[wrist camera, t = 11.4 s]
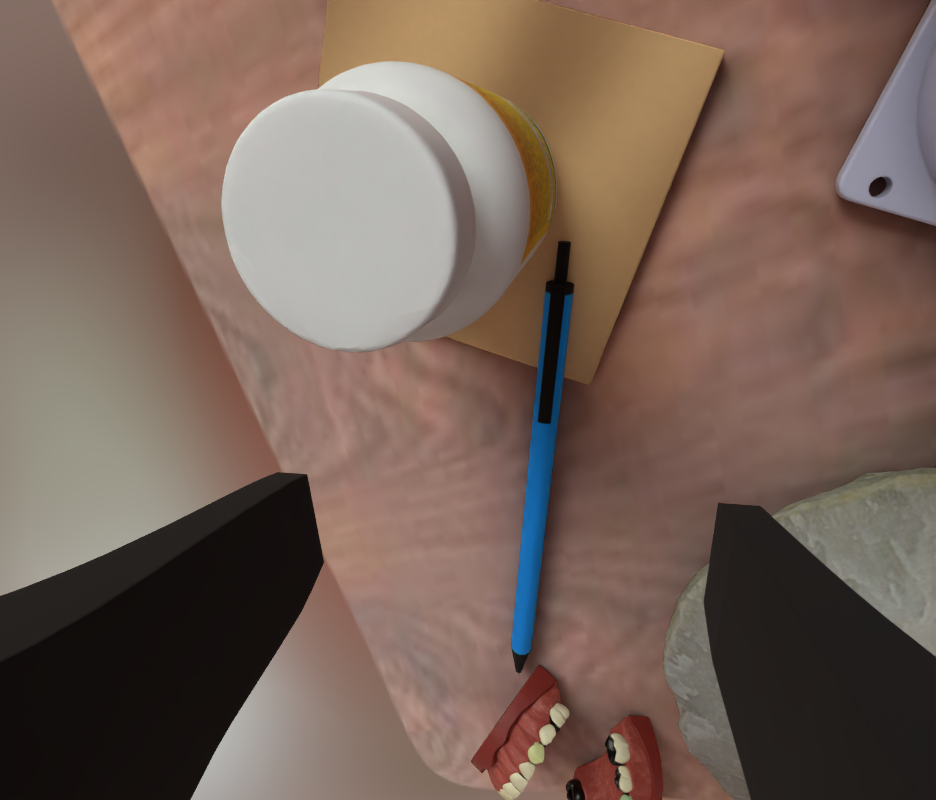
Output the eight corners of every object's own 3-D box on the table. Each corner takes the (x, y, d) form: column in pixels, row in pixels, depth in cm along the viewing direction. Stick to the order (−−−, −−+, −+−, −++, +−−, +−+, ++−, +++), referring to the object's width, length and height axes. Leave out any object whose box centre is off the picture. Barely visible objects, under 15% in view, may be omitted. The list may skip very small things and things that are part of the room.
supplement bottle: (497, 308, 18) (396, 449, 10) (363, 215, 18) (145, 281, 10) (598, 158, 16) (576, 180, 8) (443, 49, 16) (241, -56, 7)
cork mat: (723, 52, 15) (726, 50, 14) (590, 381, 19) (589, 386, 19) (339, -52, 16) (333, -56, 15) (301, 284, 20) (295, 287, 20)
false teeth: (618, 886, 24) (450, 801, 24) (617, 788, 28) (471, 716, 28) (687, 823, 21) (500, 729, 22) (675, 725, 25) (515, 646, 26)
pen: (580, 240, 17) (578, 246, 16) (529, 667, 25) (525, 688, 24) (551, 238, 17) (547, 244, 16) (510, 663, 26) (505, 684, 25)
